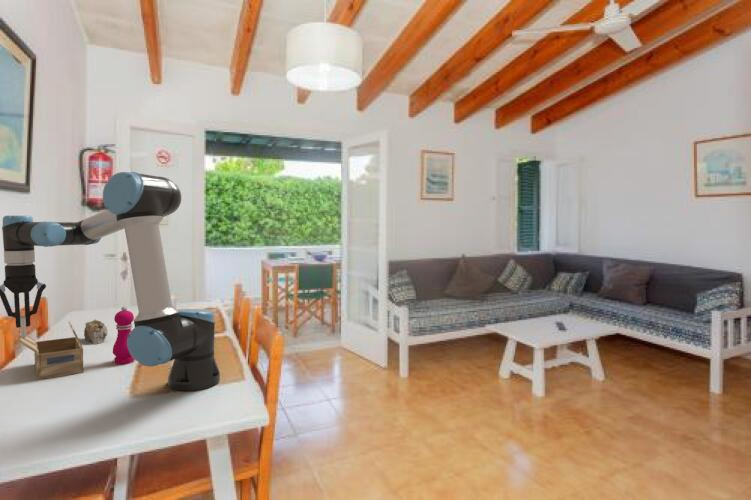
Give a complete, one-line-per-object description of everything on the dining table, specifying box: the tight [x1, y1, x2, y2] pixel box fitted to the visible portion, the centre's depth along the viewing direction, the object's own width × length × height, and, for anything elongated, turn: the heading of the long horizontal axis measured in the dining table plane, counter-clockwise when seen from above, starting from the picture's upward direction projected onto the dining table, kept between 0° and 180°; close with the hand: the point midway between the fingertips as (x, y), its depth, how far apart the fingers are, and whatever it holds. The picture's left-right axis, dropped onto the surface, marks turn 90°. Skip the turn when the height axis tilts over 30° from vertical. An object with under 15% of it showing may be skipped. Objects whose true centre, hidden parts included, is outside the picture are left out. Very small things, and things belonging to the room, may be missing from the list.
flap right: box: [67, 321, 83, 347], centre depth 147 cm, size 16×6×1 cm
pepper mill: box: [112, 305, 136, 366], centre depth 153 cm, size 7×7×20 cm
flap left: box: [18, 330, 37, 353], centre depth 139 cm, size 16×6×1 cm
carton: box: [34, 336, 84, 381], centre depth 145 cm, size 19×12×8 cm, turn 40°
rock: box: [83, 319, 108, 345], centre depth 180 cm, size 12×7×10 cm, turn 47°
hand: (23, 336), depth 139 cm, fingers closed
